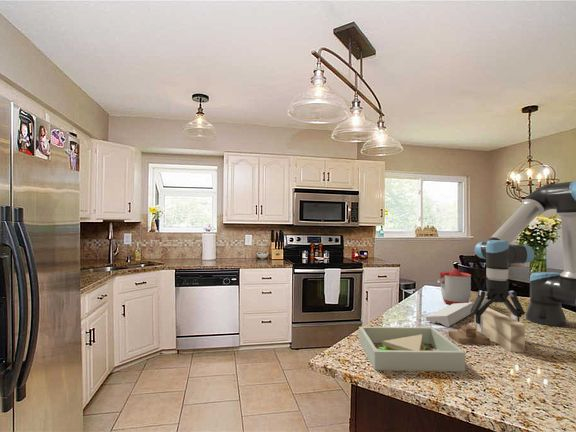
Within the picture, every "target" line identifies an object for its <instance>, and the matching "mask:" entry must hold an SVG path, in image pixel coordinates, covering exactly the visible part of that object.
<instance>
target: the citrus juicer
mask: <svg viewBox="0 0 576 432" xmlns="http://www.w3.org/2000/svg"><path fill="white" fill-rule="evenodd" d="M439 275H440V276H439V277H440V278H439V279H438V278H437V283H438V284H439V283H440V291H441V295H442V296H441V297H442V300H443V302H444V303H445V304H448V305H451V304H455V303H470V297H471V292H472V290H471V289H472V284H471V283H472V279H471V278H472V274H470V273H467V272H460V270H459V269H458V268H453V269H452V270H451V271H441V272H440V273H439Z"/></svg>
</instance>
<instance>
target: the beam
mask: <svg viewBox="0 0 576 432" xmlns="http://www.w3.org/2000/svg"><path fill="white" fill-rule="evenodd" d="M481 316H483V333H482V334H483V335H485V336H486V337H488V338H490V340H492V341H493V342H494V343H496V344H498V345H499V346H501V347H503V348H504V349H506V350H508V351H510V352H515V353H525V352H526V329H525V328H526V325H525V323H522V322H520V321H519V322H518V321H516V320H514V319H512V318H511V316H507V315H505V314H504V313H501V312H499V311H497V310H495V309H492V308H491V307H488V308H487V309H486V310H485V311H484V313H483V314H482V315H481ZM474 328H476V331H477V323H476V322H475V321H474Z"/></svg>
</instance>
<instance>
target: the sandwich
mask: <svg viewBox="0 0 576 432" xmlns="http://www.w3.org/2000/svg"><path fill="white" fill-rule="evenodd" d="M381 344H382V346H378V347H377V348H378V349H379V350H404V351H426V349H427V346H426V345H425V344H423V341H422V334H421V335H415V336H409V337H403V338H397V339H391V340H385V341H382V343H381Z"/></svg>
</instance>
